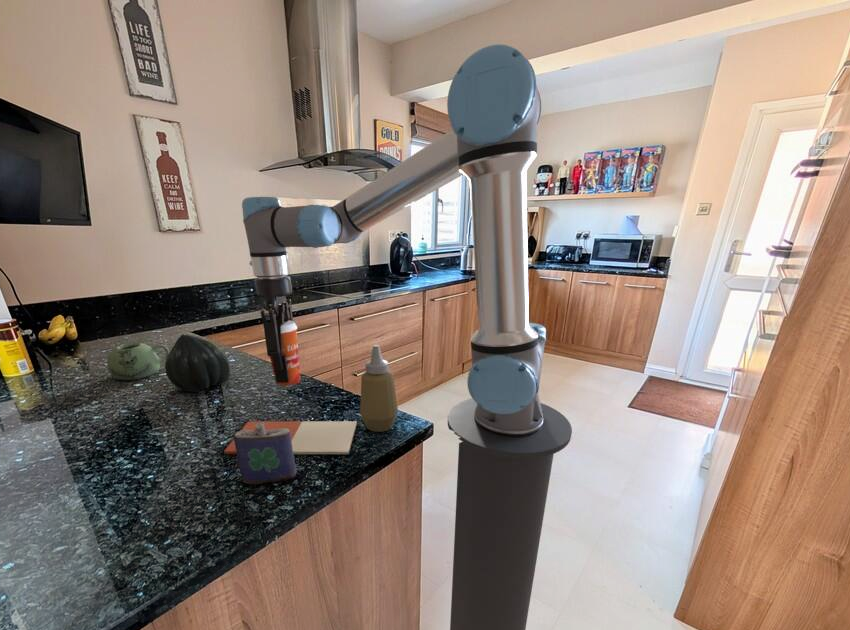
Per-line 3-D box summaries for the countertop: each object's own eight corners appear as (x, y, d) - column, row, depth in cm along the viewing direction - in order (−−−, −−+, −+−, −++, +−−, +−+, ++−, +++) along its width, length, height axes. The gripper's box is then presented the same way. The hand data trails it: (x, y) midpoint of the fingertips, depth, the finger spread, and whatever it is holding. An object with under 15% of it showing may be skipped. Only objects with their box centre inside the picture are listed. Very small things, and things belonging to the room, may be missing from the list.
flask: (297, 470, 70) (289, 417, 65) (295, 480, 67) (286, 426, 63) (244, 474, 69) (232, 421, 64) (239, 485, 66) (227, 430, 62)
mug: (110, 386, 107) (100, 356, 104) (111, 372, 117) (102, 344, 114) (175, 373, 115) (168, 345, 112) (171, 361, 125) (164, 335, 122)
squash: (235, 372, 100) (217, 322, 103) (169, 387, 93) (153, 333, 96) (235, 391, 112) (219, 346, 115) (177, 406, 105) (162, 357, 108)
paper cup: (280, 389, 89) (270, 329, 83) (266, 381, 94) (255, 324, 89) (311, 380, 93) (303, 322, 88) (295, 372, 99) (287, 318, 93)
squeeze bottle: (384, 413, 89) (381, 337, 82) (405, 427, 83) (404, 346, 76) (353, 424, 85) (348, 344, 78) (374, 439, 79) (369, 354, 72)
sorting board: (357, 423, 85) (356, 421, 85) (348, 454, 74) (348, 451, 74) (248, 423, 86) (248, 421, 86) (224, 454, 75) (223, 451, 75)
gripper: (270, 271, 93) (284, 362, 102) (236, 283, 75) (257, 393, 84) (301, 270, 93) (312, 362, 102) (274, 282, 75) (291, 392, 84)
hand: (287, 376), depth 93 cm, fingers closed on paper cup, 6 cm apart
